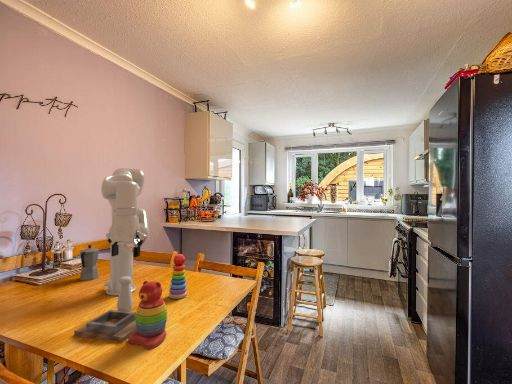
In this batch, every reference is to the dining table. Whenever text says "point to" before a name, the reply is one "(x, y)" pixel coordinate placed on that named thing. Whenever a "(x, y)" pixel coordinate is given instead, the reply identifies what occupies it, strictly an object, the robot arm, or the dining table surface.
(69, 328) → the dining table surface
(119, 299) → the salt shaker
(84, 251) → the coffeepot
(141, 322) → the stacking bear
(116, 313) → the stand
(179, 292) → the stacking toy
